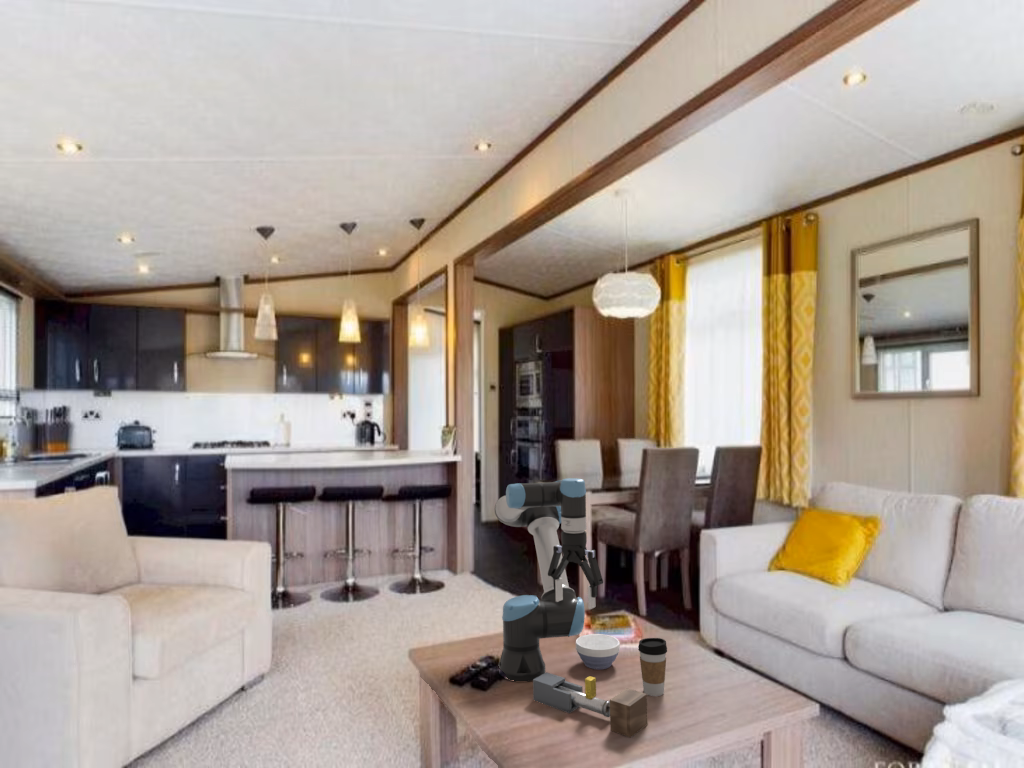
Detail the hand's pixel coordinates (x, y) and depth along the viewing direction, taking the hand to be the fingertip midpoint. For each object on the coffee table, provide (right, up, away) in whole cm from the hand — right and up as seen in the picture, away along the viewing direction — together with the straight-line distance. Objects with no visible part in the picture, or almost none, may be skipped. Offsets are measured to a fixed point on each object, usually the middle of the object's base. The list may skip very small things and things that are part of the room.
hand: (575, 604), depth 197 cm
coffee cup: (+23, -26, -2) cm, 35 cm away
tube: (-1, -26, -11) cm, 28 cm away
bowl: (+9, -27, +19) cm, 34 cm away
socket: (+11, -25, -22) cm, 35 cm away
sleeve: (-5, -26, -8) cm, 28 cm away
